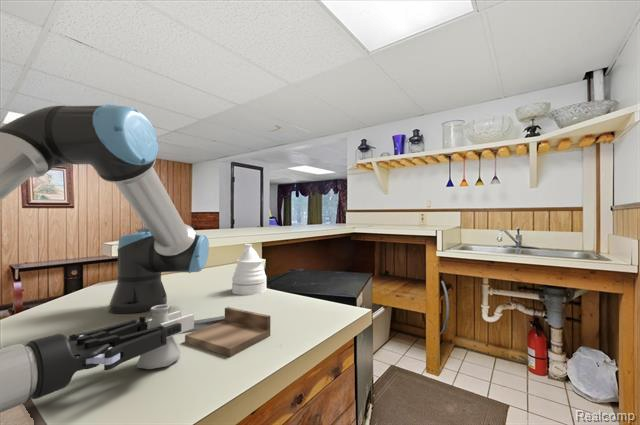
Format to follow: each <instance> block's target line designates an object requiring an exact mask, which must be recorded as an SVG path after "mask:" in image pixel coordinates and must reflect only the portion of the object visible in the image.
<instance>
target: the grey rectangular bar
mask: <svg viewBox="0 0 640 425" xmlns="http://www.w3.org/2000/svg"><path fill="white" fill-rule="evenodd" d="M224 320H225V315H220V316H214V317H208V318H202V319H196V320H195V319H194V328H193V329H190V330H187V331H185V332H182V334H184V333H191V332H195V331H197V330H200V329H202V328H205V327H208V326H210V325H213V324H216V323H218V322H221V321H224Z"/></svg>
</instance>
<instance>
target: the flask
mask: <svg viewBox="0 0 640 425" xmlns="http://www.w3.org/2000/svg"><path fill="white" fill-rule="evenodd" d="M170 307H171V304H165V305H156V306H154V307H151V309H150V310H149V311H150V313H151V316H152V317H151V319H152V322H151V327H150V329H151V328H155V327H159V326H160V324H161V323H164V322H167V321H169V318H168V314H169V310H170ZM180 358H181V350H180V347H179V345H178V343H177V340H176V338H175V335H174V336H171V337H168V338H167V343H166V345H163V346H161V347H159V348H156V349H154V350H152V351H149V352H147V353H144V354H142V355H140V356H139V358H138V361H137V363H136V366H135V367H136V368H140V369H146V370H152V369H159V368H164V367H168V366H171V365H172V364H174V362H176V361H178V360H179V359H180Z"/></svg>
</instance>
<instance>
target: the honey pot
mask: <svg viewBox="0 0 640 425" xmlns="http://www.w3.org/2000/svg"><path fill="white" fill-rule="evenodd" d="M252 246H253V244H252V243H245V244H244V247H245V249H244V250H243V252H242V253H241V255H240V258H239V259H237V260H236V263H237V264H236V267H235V269H234V272H233V276H232V278H231V280H232V281H231V293H232V294H235V295H238V296H239V295H241V296H248V295H250V296H251V295H257V294H262V293H265V292H267V275H266V272H265V270H264V269H265V267H264V266H263V264H262V263H263V262H264V259H263V258H260V256H259V255H258V254H259V253H257V251H256V250H255V249H254V248H253V247H252Z"/></svg>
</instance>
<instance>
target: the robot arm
mask: <svg viewBox="0 0 640 425" xmlns="http://www.w3.org/2000/svg"><path fill="white" fill-rule="evenodd" d="M157 139H158V136H157V133H156V131H155V128H154V126H153V125H152V123H151V122H150V120H149V119H148V118H147V117H146V116H145V115H144V114H143V113H142V112H140V111H139V110H138V109H136V108H132V107H131V106H127V105H123V106H122V105H115V104H102V105H54V106H53V105H51V106H45V107H43V108H39V109H37V110H33V111H31V112H29V113H27V114H24V115H22V116H20V117H18V118H16V119H14V120H11V121H9V122H8V123H6V124H3V125H2V126H0V202H1V201H2V200H3V199H5V198H6V197H7V196H8V195H10V194H11V193H12V192H14V191H15V190H16V189H17V188H19V187H20V186H21V185H23V184H24V183H25V182H27V180H29V179H30V178H32V179H33V178H39V177H43V176H44V175H45V174H46V173H48V172H49V171H51V170H53V169H55V168H58V167H62V166H68V165H90V166H91V167H93V170H95V172H96V173H97V175H98V176H99V177H100V178H101V179H102V180H104V181H106V182H108V183H114V184H115V186H116V187H117V188H118V190H119V191H120V192H121V194H122V195H123V197H124V198H125V200H126V201H127V202H128V203H129V205H130V207H131V208H132V210H133V211H134V212H135V214H136V215H137V216H138V218H139V219H140V221H141V222H142V224H143V225H144V226H145V227H146V229H147V230H148V231H145V232H143V231H141V232H135V233H134V232H133V233H127V234H123V235H121V236H120V237H119V239H118V244H117V246H118V247H117V250H116V251H117V283H116V286H115V290H114V292H113V294H112V296H111V299H110V301H109V312H110V313H114V314H134V313H142V312H148V311H150V309H151V307H154V306H156V305H167V303H168V296H167V292H166V290H165V287H164V284H163V282H162V273H189V274H191V273H200V272H201V271H202V270H203V269H204V268H205V266H206V264H207V262H208V260H209V259H208V258H209V250H210V242H209V238H208V236H207V235H204V234H197V233H196V231H195V230H194V228H193V227H192V226H190V225H188V224H186V223H185V222H184V221H183V219H182V217H181V215H180V213H179V211H178V210H177V208H176V206H175V204H174V203H173V201H172V199H171V197H170V195H169V194H168V192H167V190H166V188H165V186H164V185H163V183H162V181H161V179H160V178H159V175H158V173H157V171H156V170H155V169H154V165H155V163H156V158H157V155H158V153H159V142H157ZM168 318H169V321H167V322H164V323H161V324H160V326H159V327H155V328H151V329H150V327H151V322H152V318H150V319H147V318H146V316H145V315H144V316H140V317H139V321H138V320H137V319H131V320H128V321H125V322H122V323H120V322H119V323H116V324H112V325H109V326H105V327H101V328H97V329H93V330H90V331H85V332H81V333H80V332H79V333H73V334H70V335H69V336H68V337H67V336H66V335H64V334H62V333H56V334H52V335H48V336H44V337H40V338H37V339H32V340H30V341H28V342H27V343H26V344H25V345H24V344H22V343H16V344H13V345H9V346H8V345H7V346H5V347H1V348H0V414H1V413H3V412H5V411H9V410H11V409H13V408H15V407H18V406H20V405H21V406H22V405H23V404H25V403H26V402H27V401H28V400H29V398H30V399H31V400H32V399H34V400H36V399H40V398H42V397H45V396H47V395H49V394H53V393H55V392H56V391H57V392H58V391H60V390H63V389H64V388H66V387H67V386H68V385H69V384H70V383H71V381H72V378H73V376H74V375H75V373H77V372H79V371H83V370H91V369H93V368H96V367H98V366H100V365H103V370H104V371H110V370H113V369H114V368H116V367H118V366H120V365H121V364H123V363H126V362H128V361H129V360H132V359H135V358H137V357H140V355H142V354H144V353H147V352H149V351H152V350H154V349H156V348H159V347H161V346H163V345H166V343H167V338H168V337H171V336H174V337H175V336H176V335H178V334H181V333H182V332H184V333H186V332H185V331H187V330H190V329H193V328H194V321H195V314H193V313H191V314H186V315H183V316H182V311H181V310H177V311H175V312H174V311H173V312H170V313H168ZM146 319H147V320H146ZM182 334H183V333H182Z"/></svg>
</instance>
